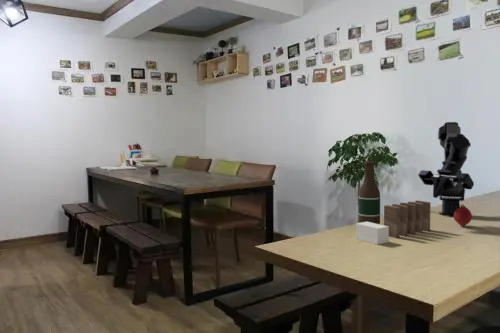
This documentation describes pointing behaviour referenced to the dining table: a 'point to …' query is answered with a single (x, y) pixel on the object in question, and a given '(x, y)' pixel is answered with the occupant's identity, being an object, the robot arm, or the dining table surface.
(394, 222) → the domino
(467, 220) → the onion
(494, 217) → the dining table surface
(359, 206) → the beer bottle
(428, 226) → the domino
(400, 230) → the domino
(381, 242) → the end block
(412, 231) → the domino
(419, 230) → the domino
